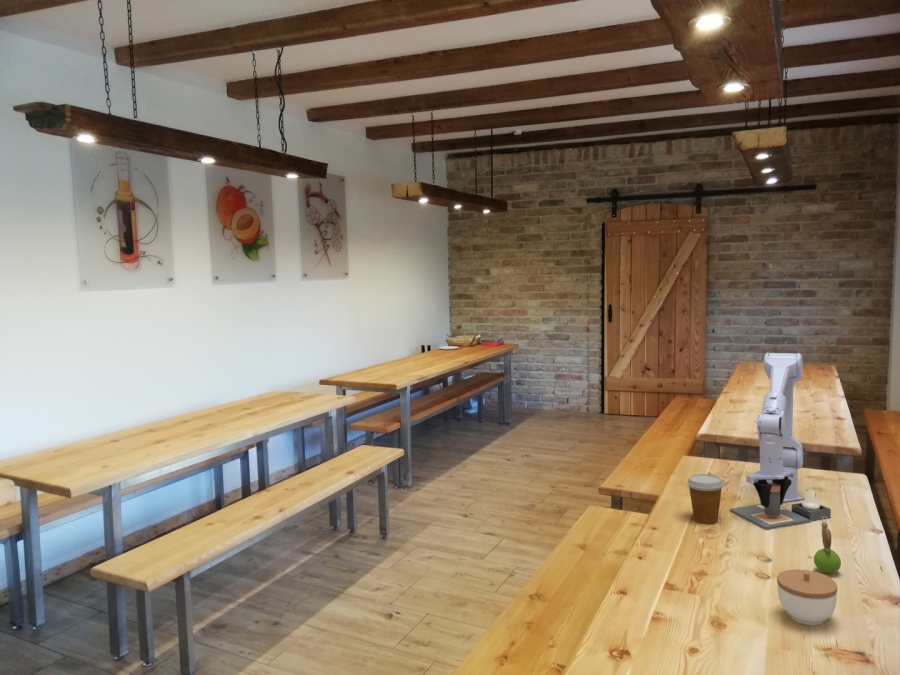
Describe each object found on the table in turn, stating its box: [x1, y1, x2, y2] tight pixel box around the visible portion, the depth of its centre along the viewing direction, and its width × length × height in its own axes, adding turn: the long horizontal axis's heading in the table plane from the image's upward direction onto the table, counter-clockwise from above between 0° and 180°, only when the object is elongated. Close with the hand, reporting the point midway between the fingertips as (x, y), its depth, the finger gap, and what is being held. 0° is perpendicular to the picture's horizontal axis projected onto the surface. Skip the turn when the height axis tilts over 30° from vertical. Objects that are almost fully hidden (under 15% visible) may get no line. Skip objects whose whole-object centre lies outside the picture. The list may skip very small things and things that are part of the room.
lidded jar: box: [776, 569, 838, 626], centre depth 135 cm, size 11×11×9 cm
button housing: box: [791, 502, 832, 522], centre depth 188 cm, size 7×7×3 cm
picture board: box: [729, 503, 811, 531], centre depth 188 cm, size 15×14×1 cm
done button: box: [801, 500, 821, 511], centre depth 187 cm, size 4×4×2 cm
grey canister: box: [764, 483, 781, 516], centre depth 185 cm, size 4×4×8 cm
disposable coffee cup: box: [686, 473, 724, 525], centre depth 188 cm, size 10×10×12 cm
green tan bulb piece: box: [813, 516, 842, 574], centre depth 154 cm, size 5×6×12 cm
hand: (771, 505), depth 185 cm, fingers closed on grey canister, 4 cm apart
